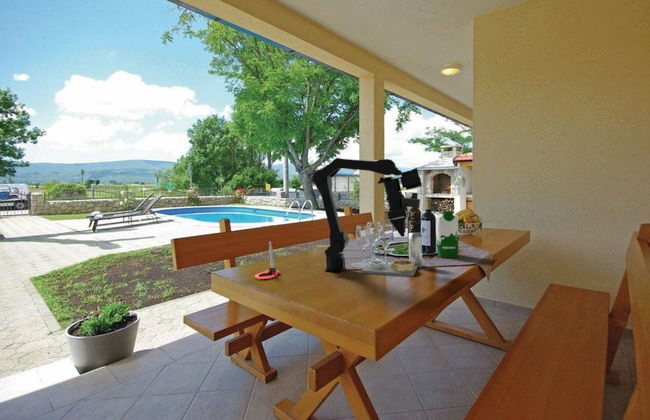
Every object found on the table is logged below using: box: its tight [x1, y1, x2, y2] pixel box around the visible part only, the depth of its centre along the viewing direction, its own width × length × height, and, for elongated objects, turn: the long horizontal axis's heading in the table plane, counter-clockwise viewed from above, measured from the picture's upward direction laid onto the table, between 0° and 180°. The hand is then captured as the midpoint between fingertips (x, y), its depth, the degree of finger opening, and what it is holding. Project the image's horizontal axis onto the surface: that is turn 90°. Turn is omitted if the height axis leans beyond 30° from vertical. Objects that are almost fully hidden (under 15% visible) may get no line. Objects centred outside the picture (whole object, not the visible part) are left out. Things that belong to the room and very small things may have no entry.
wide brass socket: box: [390, 259, 414, 272], centre depth 121 cm, size 8×8×2 cm
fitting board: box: [360, 263, 418, 277], centre depth 123 cm, size 19×11×1 cm, turn 67°
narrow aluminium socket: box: [367, 260, 385, 270], centre depth 125 cm, size 6×6×2 cm
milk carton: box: [435, 210, 459, 258], centre depth 143 cm, size 9×9×20 cm
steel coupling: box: [407, 232, 423, 269], centre depth 128 cm, size 5×5×13 cm
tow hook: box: [254, 241, 282, 281], centre depth 122 cm, size 8×13×9 cm
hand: (403, 234), depth 120 cm, fingers open, 9 cm apart
